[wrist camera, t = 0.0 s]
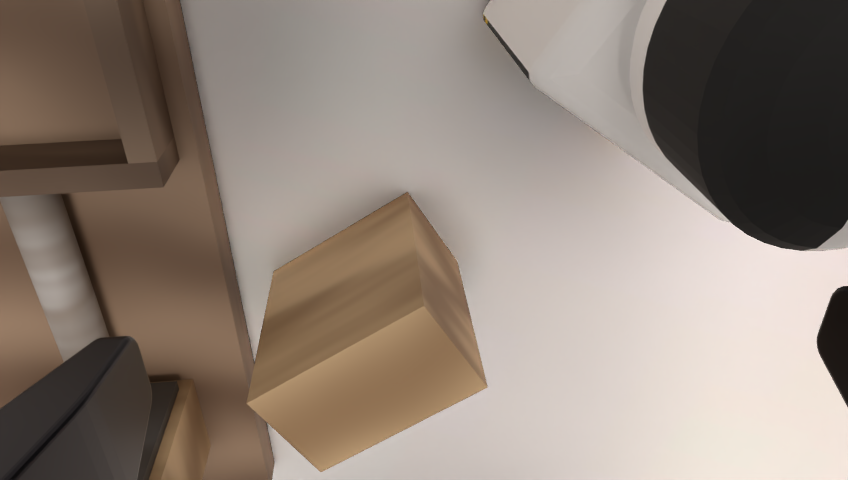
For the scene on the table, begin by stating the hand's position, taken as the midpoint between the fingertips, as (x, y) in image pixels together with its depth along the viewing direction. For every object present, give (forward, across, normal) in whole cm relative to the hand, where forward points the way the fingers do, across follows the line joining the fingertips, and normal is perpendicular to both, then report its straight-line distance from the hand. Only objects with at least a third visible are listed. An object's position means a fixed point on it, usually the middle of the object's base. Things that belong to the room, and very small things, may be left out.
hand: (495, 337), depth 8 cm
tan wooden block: (+15, +2, +8) cm, 17 cm away
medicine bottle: (+15, -7, -2) cm, 17 cm away
